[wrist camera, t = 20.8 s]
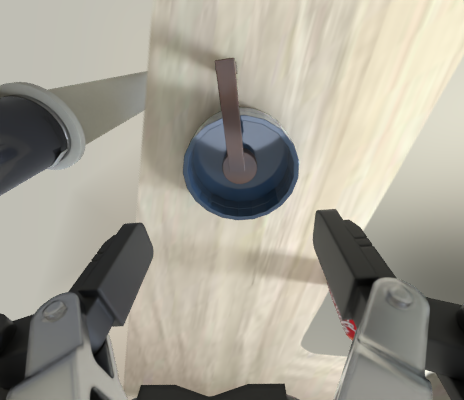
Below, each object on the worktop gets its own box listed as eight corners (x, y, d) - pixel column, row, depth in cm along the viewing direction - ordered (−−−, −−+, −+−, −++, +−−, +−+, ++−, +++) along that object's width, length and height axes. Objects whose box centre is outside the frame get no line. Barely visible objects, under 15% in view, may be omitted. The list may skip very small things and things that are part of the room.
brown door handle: (257, 177, 32) (261, 204, 25) (225, 180, 32) (221, 208, 25) (249, 59, 24) (252, 54, 18) (208, 65, 25) (196, 62, 18)
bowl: (201, 205, 36) (196, 223, 32) (179, 114, 28) (169, 123, 24) (290, 198, 34) (296, 216, 31) (293, 100, 27) (301, 107, 23)
